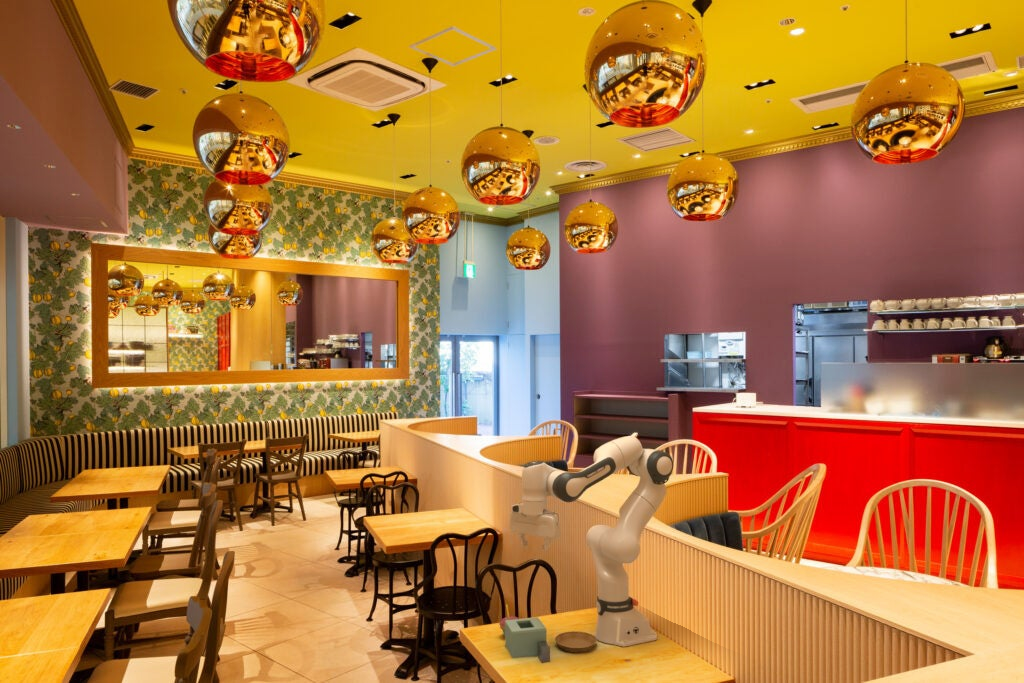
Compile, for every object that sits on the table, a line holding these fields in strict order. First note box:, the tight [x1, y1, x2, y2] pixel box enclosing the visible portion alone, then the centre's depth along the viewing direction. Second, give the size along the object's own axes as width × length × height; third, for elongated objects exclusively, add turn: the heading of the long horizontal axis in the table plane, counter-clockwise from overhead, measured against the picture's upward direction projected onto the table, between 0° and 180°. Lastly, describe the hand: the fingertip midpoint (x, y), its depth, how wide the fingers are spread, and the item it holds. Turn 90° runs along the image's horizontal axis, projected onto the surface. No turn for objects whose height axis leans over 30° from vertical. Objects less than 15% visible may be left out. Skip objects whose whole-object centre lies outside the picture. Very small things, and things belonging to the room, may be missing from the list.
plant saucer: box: [554, 630, 598, 653], centre depth 236 cm, size 15×15×3 cm
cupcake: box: [498, 602, 520, 638], centre depth 245 cm, size 9×8×12 cm
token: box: [537, 640, 551, 664], centre depth 225 cm, size 3×5×5 cm, turn 13°
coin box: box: [504, 616, 548, 659], centre depth 233 cm, size 12×11×9 cm
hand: (534, 548), depth 234 cm, fingers open, 8 cm apart
